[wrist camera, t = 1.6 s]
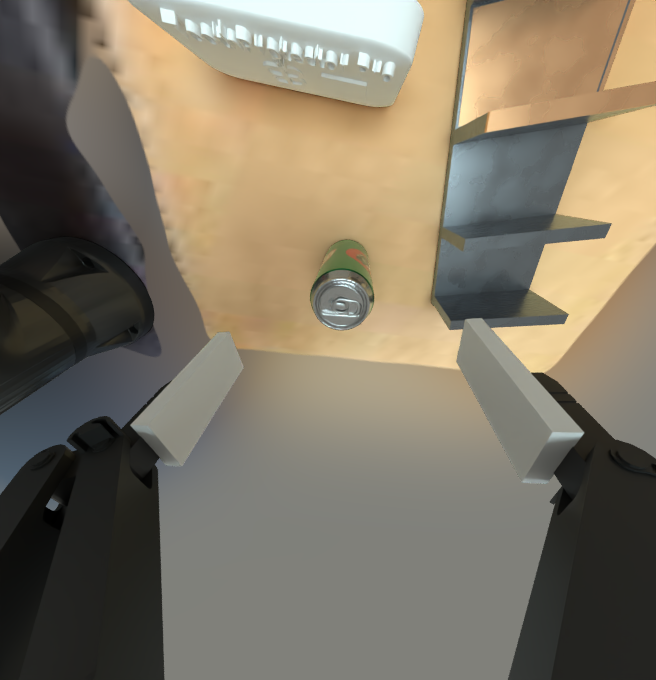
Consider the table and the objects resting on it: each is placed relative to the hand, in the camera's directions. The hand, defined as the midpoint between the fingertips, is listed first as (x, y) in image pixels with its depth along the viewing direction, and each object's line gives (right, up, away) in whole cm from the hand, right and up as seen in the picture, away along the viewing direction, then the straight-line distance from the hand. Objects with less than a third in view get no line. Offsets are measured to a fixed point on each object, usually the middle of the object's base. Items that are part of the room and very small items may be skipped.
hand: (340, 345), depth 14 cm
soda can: (+2, +10, +14) cm, 17 cm away
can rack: (+16, +15, +9) cm, 23 cm away
